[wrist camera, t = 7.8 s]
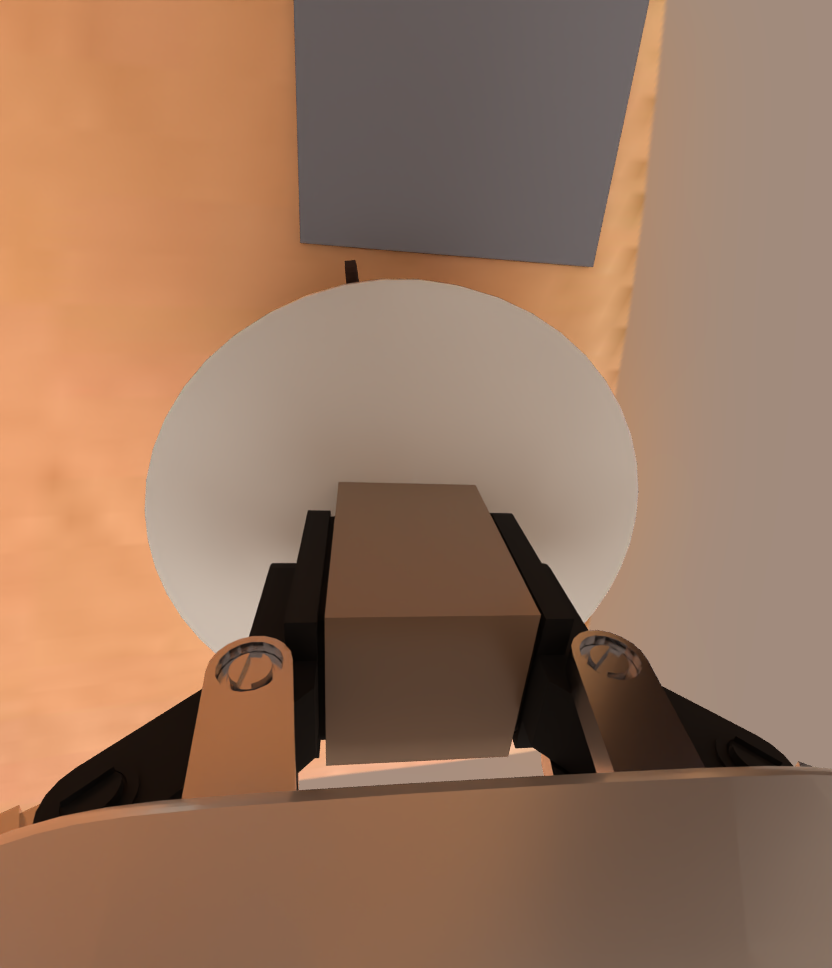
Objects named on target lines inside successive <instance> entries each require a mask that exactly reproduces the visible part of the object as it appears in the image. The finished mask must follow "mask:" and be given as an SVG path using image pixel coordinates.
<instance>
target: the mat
mask: <svg viewBox="0 0 832 968" xmlns="http://www.w3.org/2000/svg"><path fill="white" fill-rule="evenodd" d="M648 4H649V0H294V29H295V66H296V102H297V139H298V176H299V212H300V243H308V244H320V245H332V246H344V247H356V248H368V249H380V250H392V251H404V252H417V253H429V254H441V255H453V256H465V257H477V258H489V259H501V260H513V261H526V262H538V263H550V264H562V265H574V266H586V267H593V265H594V260H595V255H596V251H597V246H598V241H599V236H600V232H601V227H602V222H603V217H604V213H605V208H606V203H607V199H608V194H609V189H610V184H611V180H612V175H613V170H614V165H615V161H616V156H617V151H618V146H619V142H620V137H621V132H622V127H623V123H624V118H625V113H626V108H627V104H628V99H629V94H630V90H631V85H632V80H633V75H634V71H635V66H636V61H637V56H638V52H639V47H640V42H641V37H642V33H643V28H644V23H645V18H646V14H647V9H648Z"/></svg>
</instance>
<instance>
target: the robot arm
mask: <svg viewBox="0 0 832 968" xmlns="http://www.w3.org/2000/svg"><path fill="white" fill-rule="evenodd" d="M490 515H491V517H492V519H493V521H494V523H495V525H496V527H497V529H498V531H499V533H500V535H501V537H502V539H503V541H504V543H505V545H506V547H507V549H508V551H509V553H510V555H511V557H512V559H513V560H514V562H515V564H516V566H517V568H518V570H519V572H520V574H521V576H522V578H523V580H524V582H525V584H526V586H527V588H528V590H529V592H530V594H531V596H532V598H533V600H534V602H535V604H536V606H537V608H538V610H539V612H540V614H541V617H540V621H539V625H538V630H537V634H536V638H535V643H534V647H533V651H532V656H531V660H530V664H529V669H528V673H527V677H526V682H525V686H524V690H523V695H522V699H521V703H520V708H519V712H518V716H517V721H516V725H515V729H514V733H513V738H512V739H513V742H514V745H515V748H534V749H536V750H537V751H539V752H540V753H542V754H541V760H542V768H543V772H544V776H532V777H515V778H496V779H479V780H463V781H444V782H426V783H409V784H393V785H376V786H362V787H344V788H328V789H312V790H299V783H298V782H299V780H298V773H299V772H300V771H301V770H302V769H303V768H304V767H305V766H306V765H308V764H309V763H310V762H311V761H312V760H313V759H314V758H319V753H320V741H321V740H326V708H325V608H326V599H327V589H328V579H329V570H330V560H331V550H332V540H333V531H334V521H335V516H331V511H330V510H308V512H307V516H306V521H305V525H304V530H303V535H302V539H301V544H300V549H299V553H298V558H297V563H272V564H271V565H270V568H269V571H268V574H267V577H266V581H265V584H264V587H263V591H262V594H261V598H260V601H259V604H258V608H257V611H256V614H255V618H254V621H253V624H252V628H251V631H250V634H249V637H246V638H242V639H238V640H236V641H234V642H232V643H229V644H227V645H226V646H224V647H223V648H222V649H220V650H219V651H217V653H216V654H215V655H214V656H213V657H212V659H211V660H210V661H209V664H208V666H207V669H206V671H205V677H204V682H203V687H202V689H201V690H200V691H198V692H196V693H195V694H193V695H192V696H190V697H188V698H187V699H185V700H184V701H182V702H180V703H179V704H177V705H176V706H174V707H172V708H171V709H169V710H168V711H166V712H164V713H163V714H161V715H160V716H158V717H156V718H155V719H153V720H152V721H150V722H148V723H147V724H145V725H144V726H142V727H140V728H139V729H137V730H136V731H134V732H132V733H131V734H129V735H128V736H126V737H124V738H123V739H121V740H120V741H118V742H116V743H115V744H113V745H112V746H110V747H108V748H107V749H105V750H104V751H102V752H101V753H99V754H97V755H96V756H94V757H93V758H91V759H89V760H88V761H86V762H85V763H83V764H81V765H80V766H78V767H77V768H75V769H74V770H72V771H71V772H70V773H68V774H67V775H66V776H64V777H63V778H62V779H60V780H59V781H58V782H57V783H56V784H55V786H54V787H53V788H52V789H51V790H50V791H49V792H48V793H47V794H46V795H45V797H44V799H43V800H42V802H41V804H39V805H37V806H35V807H33V808H30V809H28V810H26V811H24V812H22V810H21V808H20V806H19V805H18V806H16V807H14V808H12V809H9V810H7V811H5V812H3V813H1V814H0V968H832V769H829V768H819V767H812V766H810V765H807V764H804V763H802V762H799V761H798V762H797V764H796V766H793V765H792V764H791V763H790V762H789V760H788V759H787V758H786V757H785V756H784V755H783V754H782V753H781V752H780V751H778V750H777V749H776V748H775V747H774V746H773V745H771V744H770V743H768V742H766V741H765V740H763V739H762V738H760V737H758V736H757V735H755V734H753V733H751V732H749V731H747V730H745V729H744V728H741V727H740V726H738V725H735V724H734V723H732V722H730V721H728V720H726V719H724V718H722V717H720V716H718V715H717V714H715V713H713V712H711V711H709V710H707V709H705V708H703V707H701V706H699V705H697V704H695V703H693V702H692V701H689V700H688V699H685V698H684V697H682V696H680V695H678V694H676V693H674V692H672V691H670V690H668V689H666V688H664V687H663V686H661V684H660V682H659V680H658V678H657V676H656V674H655V673H654V671H653V669H652V667H651V665H650V663H649V661H648V660H647V658H646V657H645V655H644V654H643V653H642V651H641V650H640V649H638V648H637V647H636V646H635V645H634V644H633V643H631V642H629V641H628V640H626V639H624V638H623V637H621V636H618V635H616V634H613V633H610V632H605V631H600V630H588V629H587V627H586V626H585V624H584V622H583V621H582V619H581V617H580V616H579V614H578V613H577V611H576V609H575V608H574V606H573V604H572V603H571V601H570V599H569V598H568V596H567V594H566V593H565V591H564V590H563V588H562V586H561V585H560V583H559V581H558V580H557V578H556V576H555V575H554V573H553V572H552V570H551V568H550V567H549V566H548V565H547V564H545V563H541V561H540V559H539V558H538V556H537V554H536V553H535V551H534V549H533V548H532V546H531V544H530V542H529V541H528V539H527V537H526V536H525V534H524V532H523V531H522V529H521V527H520V526H519V524H518V522H517V520H516V519H515V517H514V515H513V514H512V513H490Z"/></svg>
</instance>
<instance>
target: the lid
mask: <svg viewBox="0 0 832 968" xmlns="http://www.w3.org/2000/svg"><path fill="white" fill-rule="evenodd" d="M637 500H638V475H637V461H636V456H635V452H634V447H633V442H632V437H631V434H630V431H629V428H628V425H627V423H626V420H625V417H624V415H623V412H622V410H621V407H620V405H619V404H618V402H617V400H616V398H615V396H614V395H613V393H612V391H611V389H610V388H609V386H608V384H607V382H606V381H605V379H604V378H603V377H602V375H601V374H600V373H599V372H598V370H597V369H596V368H595V367H594V365H593V364H592V363H591V362H590V360H589V359H588V358H587V357H586V355H585V354H583V353H582V352H581V351H580V350H579V349H578V348H577V347H576V346H575V345H574V344H573V343H571V342H570V341H569V340H568V339H567V338H566V337H565V336H564V335H563V334H562V333H560V332H559V331H557V330H556V329H554V328H553V327H552V326H550V325H549V324H547V323H546V322H544V321H543V320H541V319H540V318H538V317H537V316H535V315H534V314H532V313H530V312H528V311H526V310H524V309H522V308H520V307H517V306H515V305H513V304H511V303H509V302H507V301H505V300H503V299H500V298H498V297H495V296H492V295H488V294H485V293H482V292H478V291H475V290H472V289H468V288H465V287H462V286H458V285H454V284H448V283H442V282H435V281H428V280H421V279H376V280H369V281H362V282H355V283H348V284H342V285H339V286H335V287H332V288H329V289H325V290H322V291H318V292H315V293H311V294H308V295H306V296H304V297H301V298H299V299H297V300H295V301H293V302H290V303H288V304H286V305H284V306H282V307H279V308H277V309H275V310H273V311H272V312H270V313H268V314H267V315H265V316H264V317H262V318H260V319H259V320H257V321H256V322H254V323H253V324H251V325H250V326H248V327H246V328H245V329H243V330H242V331H240V332H239V333H237V334H236V335H234V336H233V337H232V338H231V339H230V340H229V341H227V342H226V343H225V344H224V345H223V346H222V347H221V348H219V349H218V350H217V351H216V352H215V353H214V354H213V355H212V356H210V357H209V358H208V359H207V360H206V361H205V362H204V363H203V365H202V366H201V367H200V368H199V369H198V371H197V372H196V373H195V374H194V375H193V377H192V378H191V379H190V380H189V381H188V383H187V384H186V385H185V386H184V387H183V389H182V391H181V392H180V394H179V396H178V397H177V399H176V401H175V402H174V404H173V406H172V407H171V409H170V411H169V412H168V414H167V416H166V418H165V420H164V422H163V425H162V427H161V430H160V433H159V435H158V438H157V440H156V443H155V445H154V448H153V451H152V456H151V461H150V465H149V470H148V474H147V479H146V495H145V518H146V527H147V536H148V542H149V546H150V550H151V553H152V557H153V561H154V564H155V568H156V570H157V573H158V575H159V577H160V579H161V582H162V584H163V586H164V588H165V591H166V593H167V595H168V596H169V598H170V600H171V601H172V603H173V604H174V606H175V608H176V609H177V611H178V612H179V614H180V616H181V617H182V618H183V620H184V621H185V622H186V623H187V624H188V626H189V627H190V628H191V629H192V630H193V632H194V633H195V634H196V635H197V636H198V638H199V639H200V640H201V641H203V642H204V643H205V644H206V645H207V646H208V647H209V648H210V649H211V650H212V651H213V652H214V653H217V651H219V650H220V649H222V648H223V647H224V646H226V645H227V644H229V643H232V642H234V641H236V640H238V639H242V638H246V637H249V634H250V631H251V628H252V624H253V621H254V618H255V614H256V611H257V608H258V604H259V601H260V598H261V594H262V591H263V587H264V584H265V581H266V577H267V574H268V571H269V568H270V565H271V564H272V563H297V558H298V553H299V549H300V544H301V539H302V535H303V530H304V525H305V521H306V516H307V512H308V510H330V511H331V516H335V521H334V531H333V540H332V550H331V560H330V570H329V579H328V589H327V599H326V608H325V708H326V766H329V765H349V764H369V763H389V762H409V761H428V760H448V759H468V758H488V757H507V756H508V755H509V751H510V746H511V742H512V738H513V733H514V729H515V725H516V721H517V716H518V712H519V708H520V703H521V699H522V695H523V690H524V686H525V682H526V677H527V673H528V669H529V664H530V660H531V656H532V651H533V647H534V643H535V638H536V634H537V630H538V625H539V621H540V617H541V614H540V612H539V610H538V608H537V606H536V604H535V602H534V600H533V598H532V596H531V594H530V592H529V590H528V588H527V586H526V584H525V582H524V580H523V578H522V576H521V574H520V572H519V570H518V568H517V566H516V564H515V562H514V560H513V559H512V557H511V555H510V553H509V551H508V549H507V547H506V545H505V543H504V541H503V539H502V537H501V535H500V533H499V531H498V529H497V527H496V525H495V523H494V521H493V519H492V517H491V515H490V513H512V514H513V515H514V517H515V519H516V520H517V522H518V524H519V526H520V527H521V529H522V531H523V532H524V534H525V536H526V537H527V539H528V541H529V542H530V544H531V546H532V548H533V549H534V551H535V553H536V554H537V556H538V558H539V559H540V561H541V563H545V564H547V565H548V566H549V567H550V568H551V570H552V572H553V573H554V575H555V576H556V578H557V580H558V581H559V583H560V585H561V586H562V588H563V590H564V591H565V593H566V594H567V596H568V598H569V599H570V601H571V603H572V604H573V606H574V608H575V609H576V611H577V613H578V614H579V616H580V617H581V619H582V621H583V622H584V623H585V622H586V621H587V620H588V618H589V617H590V616H591V615H592V614H593V613H594V611H595V610H596V608H597V607H598V606H599V604H600V603H601V601H602V600H603V598H604V597H605V595H606V594H607V592H608V591H609V589H610V587H611V585H612V583H613V582H614V580H615V578H616V576H617V574H618V572H619V570H620V568H621V566H622V563H623V560H624V558H625V555H626V552H627V550H628V547H629V545H630V541H631V537H632V532H633V528H634V524H635V519H636V511H637Z"/></svg>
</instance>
